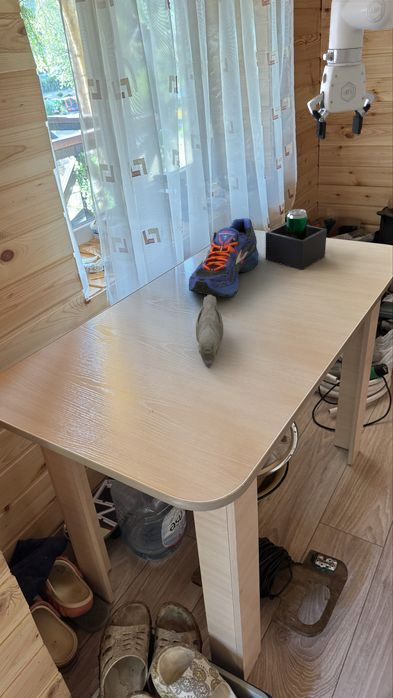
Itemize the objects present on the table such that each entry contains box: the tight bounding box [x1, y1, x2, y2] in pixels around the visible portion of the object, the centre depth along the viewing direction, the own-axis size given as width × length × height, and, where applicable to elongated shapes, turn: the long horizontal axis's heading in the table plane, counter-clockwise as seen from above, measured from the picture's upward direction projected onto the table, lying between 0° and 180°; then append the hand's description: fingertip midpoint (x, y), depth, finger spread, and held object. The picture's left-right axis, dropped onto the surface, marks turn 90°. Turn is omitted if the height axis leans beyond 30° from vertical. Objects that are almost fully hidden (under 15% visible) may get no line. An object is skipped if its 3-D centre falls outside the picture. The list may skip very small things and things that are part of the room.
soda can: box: [286, 208, 308, 240], centre depth 133 cm, size 5×5×12 cm
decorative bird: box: [195, 294, 224, 369], centre depth 100 cm, size 5×16×7 cm, turn 176°
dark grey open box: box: [265, 222, 328, 271], centre depth 134 cm, size 12×11×8 cm
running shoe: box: [188, 217, 260, 298], centre depth 125 cm, size 12×32×13 cm, turn 159°
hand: (338, 136), depth 128 cm, fingers open, 9 cm apart
